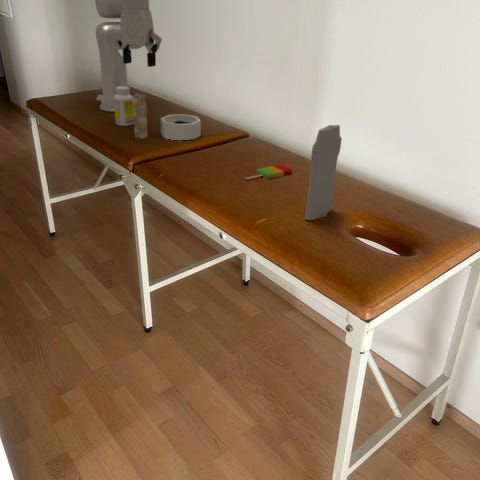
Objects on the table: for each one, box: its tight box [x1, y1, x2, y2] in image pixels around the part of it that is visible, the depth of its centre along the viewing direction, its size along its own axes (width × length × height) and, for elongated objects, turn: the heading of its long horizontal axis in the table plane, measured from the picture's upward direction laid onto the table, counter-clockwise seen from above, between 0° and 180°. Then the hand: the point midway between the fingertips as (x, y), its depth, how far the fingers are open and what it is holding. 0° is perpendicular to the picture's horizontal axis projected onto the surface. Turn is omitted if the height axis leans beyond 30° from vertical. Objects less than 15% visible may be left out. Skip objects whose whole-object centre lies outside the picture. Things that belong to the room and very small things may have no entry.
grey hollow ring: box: [160, 113, 202, 142], centre depth 175 cm, size 13×13×6 cm
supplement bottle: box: [114, 86, 134, 127], centre depth 183 cm, size 7×7×13 cm
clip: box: [174, 120, 190, 124], centre depth 175 cm, size 6×6×3 cm
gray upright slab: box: [304, 124, 343, 220], centre depth 119 cm, size 11×4×22 cm, turn 136°
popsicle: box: [245, 164, 293, 181], centre depth 146 cm, size 6×15×2 cm, turn 126°
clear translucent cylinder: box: [132, 93, 149, 140], centre depth 169 cm, size 3×3×14 cm
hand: (139, 64), depth 162 cm, fingers open, 9 cm apart
